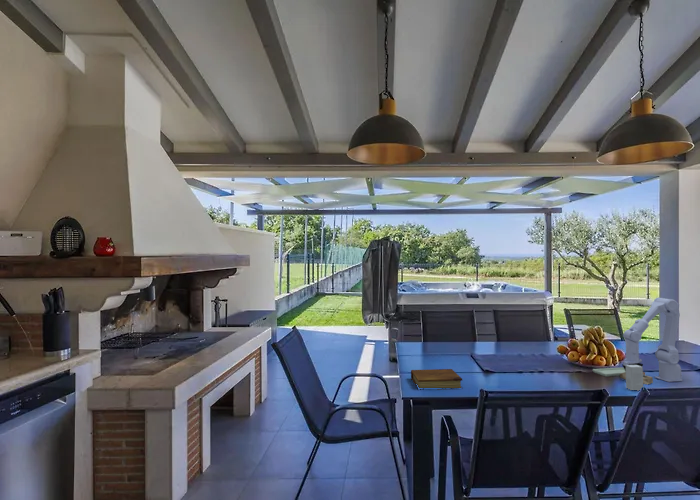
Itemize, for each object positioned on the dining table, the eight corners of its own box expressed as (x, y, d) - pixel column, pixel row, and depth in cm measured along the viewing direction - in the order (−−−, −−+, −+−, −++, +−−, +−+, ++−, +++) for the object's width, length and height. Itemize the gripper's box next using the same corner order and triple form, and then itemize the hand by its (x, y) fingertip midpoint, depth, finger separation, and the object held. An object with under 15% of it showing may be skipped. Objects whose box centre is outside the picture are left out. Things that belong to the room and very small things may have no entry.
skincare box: (637, 388, 202) (636, 364, 203) (643, 390, 198) (643, 366, 198) (625, 388, 202) (625, 364, 202) (631, 391, 198) (631, 367, 198)
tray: (622, 369, 234) (622, 367, 234) (636, 374, 224) (636, 372, 224) (592, 371, 231) (592, 369, 231) (605, 376, 221) (605, 374, 222)
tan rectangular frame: (652, 383, 210) (652, 377, 210) (647, 384, 207) (647, 378, 207) (623, 376, 222) (623, 370, 222) (618, 377, 219) (618, 372, 219)
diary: (451, 378, 223) (451, 368, 223) (462, 390, 204) (462, 378, 204) (410, 379, 222) (410, 369, 222) (418, 390, 203) (418, 379, 203)
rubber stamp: (640, 380, 214) (640, 370, 214) (647, 383, 210) (647, 372, 210) (636, 380, 214) (636, 370, 214) (643, 383, 210) (643, 373, 210)
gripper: (631, 349, 223) (632, 373, 223) (617, 352, 216) (617, 377, 216) (645, 351, 216) (646, 376, 216) (631, 355, 210) (631, 380, 209)
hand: (632, 377), depth 216 cm, fingers closed on tan rectangular frame, 5 cm apart
